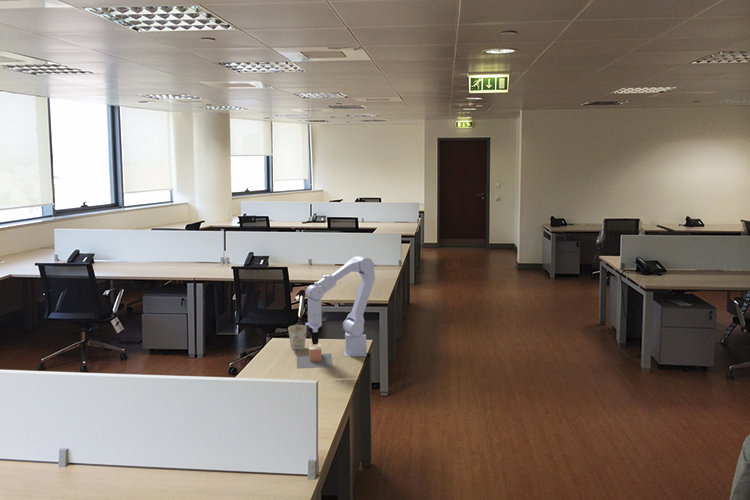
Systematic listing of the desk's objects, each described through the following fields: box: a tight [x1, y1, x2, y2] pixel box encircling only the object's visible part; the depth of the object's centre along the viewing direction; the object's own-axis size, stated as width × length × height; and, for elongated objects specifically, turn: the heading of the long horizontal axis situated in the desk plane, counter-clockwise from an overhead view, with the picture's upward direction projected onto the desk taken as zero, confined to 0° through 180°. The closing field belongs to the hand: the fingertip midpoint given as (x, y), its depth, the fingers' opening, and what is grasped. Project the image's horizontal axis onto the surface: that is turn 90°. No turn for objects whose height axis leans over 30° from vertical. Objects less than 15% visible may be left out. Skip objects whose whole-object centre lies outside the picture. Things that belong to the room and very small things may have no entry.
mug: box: [287, 324, 308, 351], centre depth 292 cm, size 8×13×10 cm, turn 174°
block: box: [308, 342, 322, 361], centre depth 279 cm, size 5×5×9 cm
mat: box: [296, 353, 334, 369], centre depth 276 cm, size 15×18×1 cm
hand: (315, 343), depth 276 cm, fingers closed
